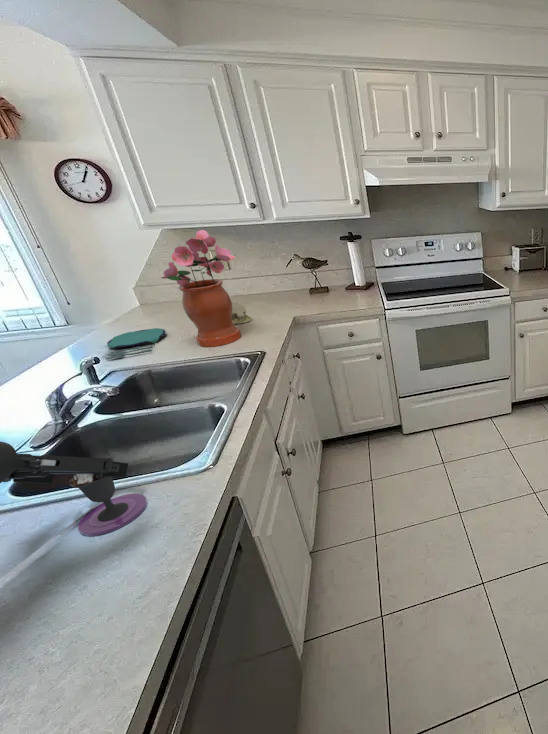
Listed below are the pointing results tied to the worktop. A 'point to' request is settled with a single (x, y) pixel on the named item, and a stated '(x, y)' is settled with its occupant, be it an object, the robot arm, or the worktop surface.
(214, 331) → the potted flower
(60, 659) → the worktop surface
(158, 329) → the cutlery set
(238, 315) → the ceramic model
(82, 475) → the sundae
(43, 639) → the worktop surface
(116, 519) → the plum plate
